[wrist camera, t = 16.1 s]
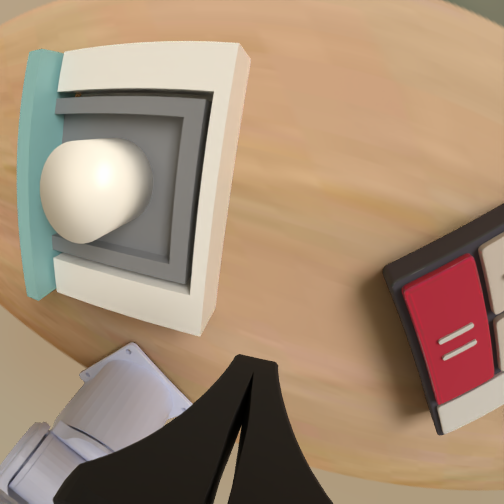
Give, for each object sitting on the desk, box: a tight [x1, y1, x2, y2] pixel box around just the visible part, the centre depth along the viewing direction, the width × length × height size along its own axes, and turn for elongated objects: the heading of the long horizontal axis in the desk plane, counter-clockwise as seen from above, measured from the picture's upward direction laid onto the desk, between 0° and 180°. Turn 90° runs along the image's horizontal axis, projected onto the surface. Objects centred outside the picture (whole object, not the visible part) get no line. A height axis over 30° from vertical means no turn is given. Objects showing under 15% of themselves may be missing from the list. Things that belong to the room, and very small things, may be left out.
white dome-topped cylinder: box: [40, 138, 153, 244], centre depth 16 cm, size 5×5×4 cm
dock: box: [53, 41, 251, 336], centre depth 18 cm, size 11×16×4 cm
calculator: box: [383, 204, 504, 435], centre depth 18 cm, size 11×4×15 cm
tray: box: [17, 49, 212, 301], centre depth 17 cm, size 11×16×4 cm
